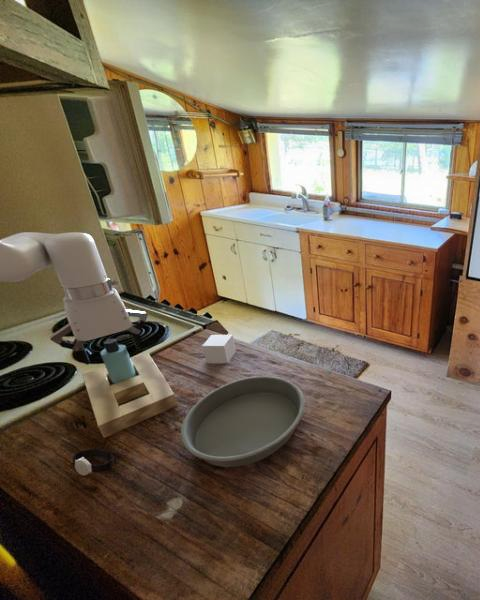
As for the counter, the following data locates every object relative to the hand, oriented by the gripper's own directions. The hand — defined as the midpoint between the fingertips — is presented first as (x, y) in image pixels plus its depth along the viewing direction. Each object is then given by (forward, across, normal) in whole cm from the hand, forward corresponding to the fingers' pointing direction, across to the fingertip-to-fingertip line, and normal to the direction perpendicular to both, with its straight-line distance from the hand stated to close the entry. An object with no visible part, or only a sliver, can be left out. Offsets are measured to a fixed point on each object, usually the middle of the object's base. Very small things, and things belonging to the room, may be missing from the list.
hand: (113, 353), depth 79 cm
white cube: (+10, -22, +4) cm, 24 cm away
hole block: (+10, 0, +5) cm, 11 cm away
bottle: (+10, 0, 0) cm, 10 cm away
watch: (+10, +9, +24) cm, 28 cm away
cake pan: (+10, -16, +35) cm, 40 cm away
